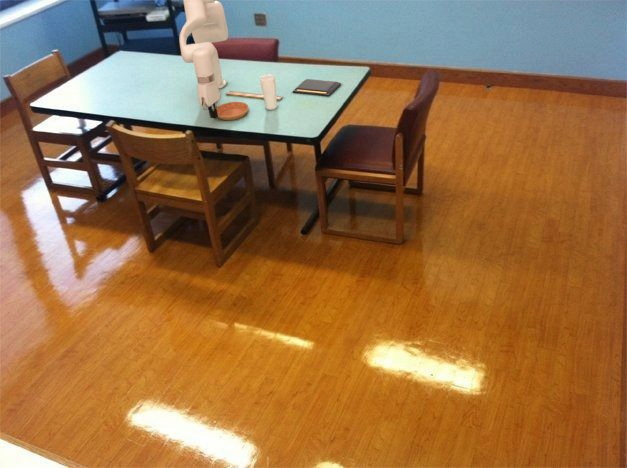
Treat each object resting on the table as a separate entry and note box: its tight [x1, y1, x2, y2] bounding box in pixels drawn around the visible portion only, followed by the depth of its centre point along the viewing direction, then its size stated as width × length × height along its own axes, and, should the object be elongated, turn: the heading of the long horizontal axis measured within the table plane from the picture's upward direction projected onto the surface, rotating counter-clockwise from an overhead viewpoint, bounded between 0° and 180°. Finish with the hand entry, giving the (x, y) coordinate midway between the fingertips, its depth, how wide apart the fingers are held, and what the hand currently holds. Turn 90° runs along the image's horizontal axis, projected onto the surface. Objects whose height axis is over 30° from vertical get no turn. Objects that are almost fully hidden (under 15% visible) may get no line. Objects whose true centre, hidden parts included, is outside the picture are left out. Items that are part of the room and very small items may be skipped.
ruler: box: [226, 90, 283, 102], centre depth 293 cm, size 30×3×1 cm, turn 65°
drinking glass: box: [259, 74, 278, 111], centre depth 276 cm, size 7×7×15 cm
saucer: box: [217, 101, 250, 121], centre depth 278 cm, size 16×16×3 cm
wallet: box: [292, 78, 342, 97], centre depth 293 cm, size 20×2×15 cm
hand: (214, 117), depth 266 cm, fingers closed
